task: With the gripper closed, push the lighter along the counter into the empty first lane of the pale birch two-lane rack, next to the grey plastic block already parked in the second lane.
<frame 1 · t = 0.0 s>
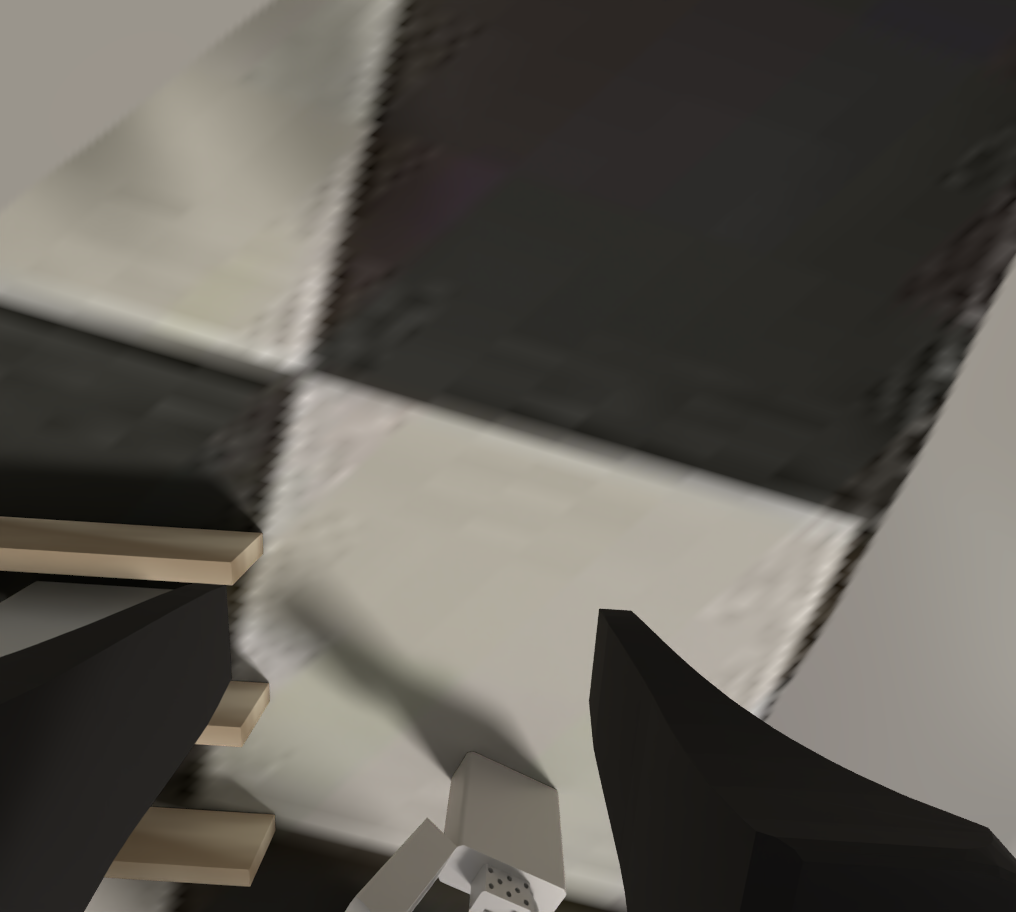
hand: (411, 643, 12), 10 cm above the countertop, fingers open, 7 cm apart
lighter: (472, 767, 25), on the countertop
grey block: (134, 610, 23), resting in rack
rack: (140, 684, 24), on the countertop
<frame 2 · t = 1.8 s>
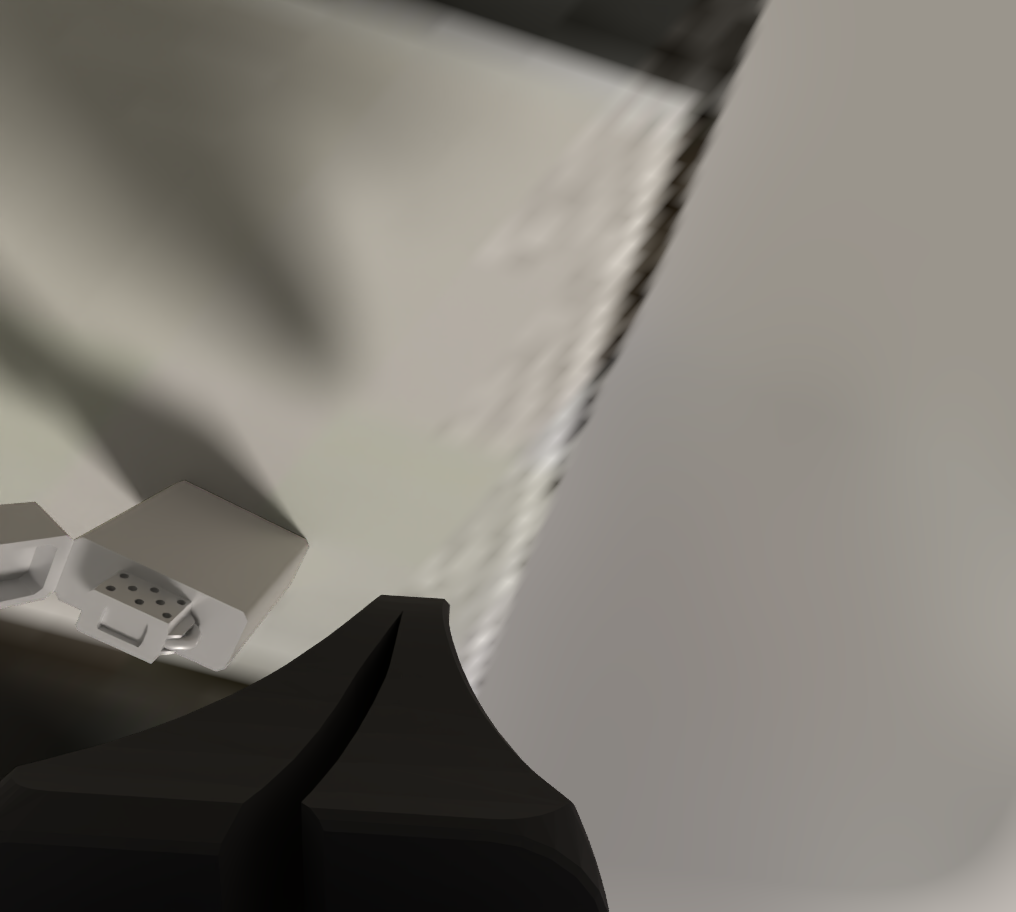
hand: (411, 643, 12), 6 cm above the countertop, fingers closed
lighter: (191, 509, 18), on the countertop
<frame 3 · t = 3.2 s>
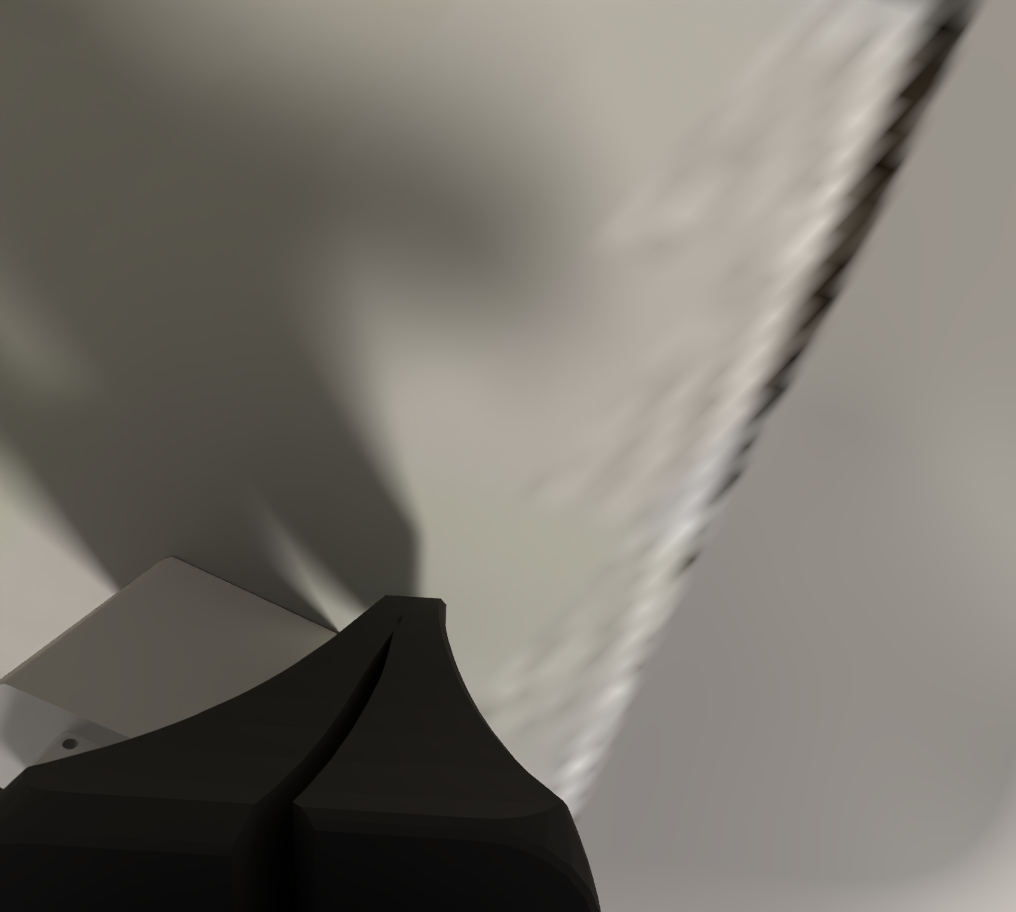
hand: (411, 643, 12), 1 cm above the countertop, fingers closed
lighter: (181, 594, 13), on the countertop, touching gripper
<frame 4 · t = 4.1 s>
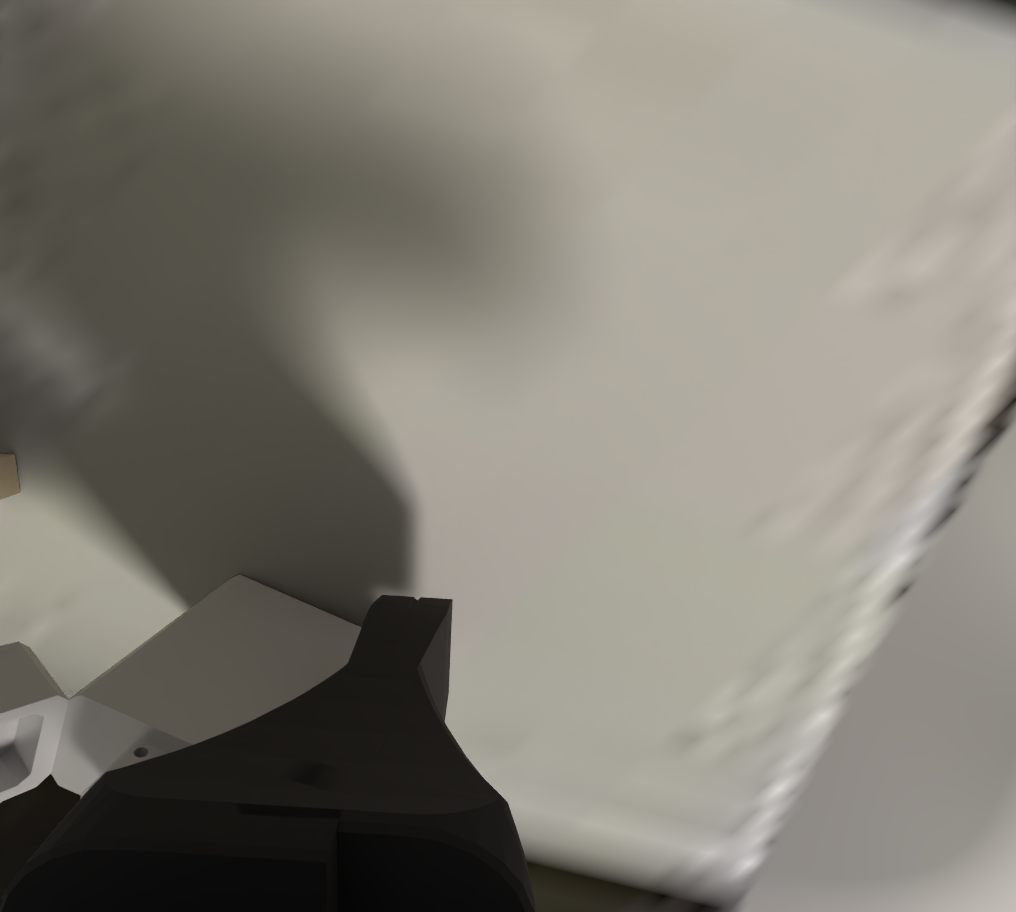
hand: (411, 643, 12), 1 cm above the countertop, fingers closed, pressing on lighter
lighter: (251, 611, 14), on the countertop, touching gripper
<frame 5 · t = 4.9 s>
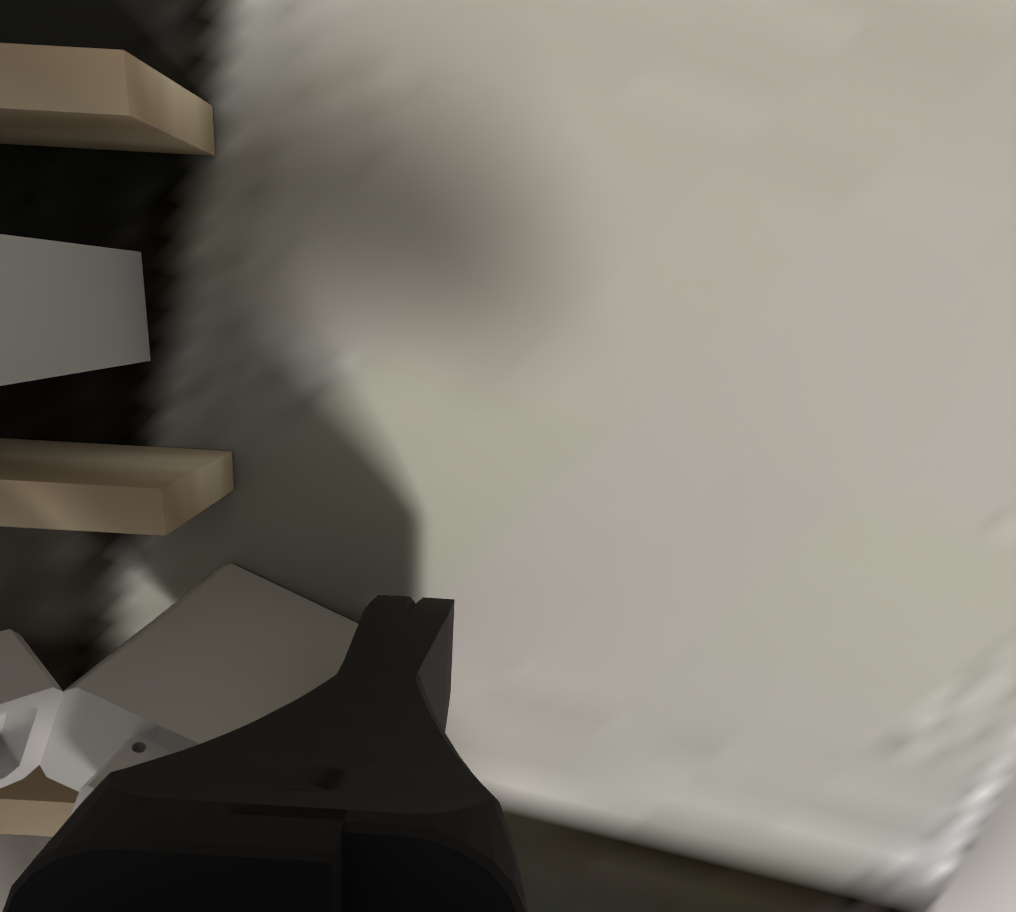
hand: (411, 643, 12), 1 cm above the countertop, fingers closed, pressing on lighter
lighter: (240, 600, 13), on the countertop, touching gripper
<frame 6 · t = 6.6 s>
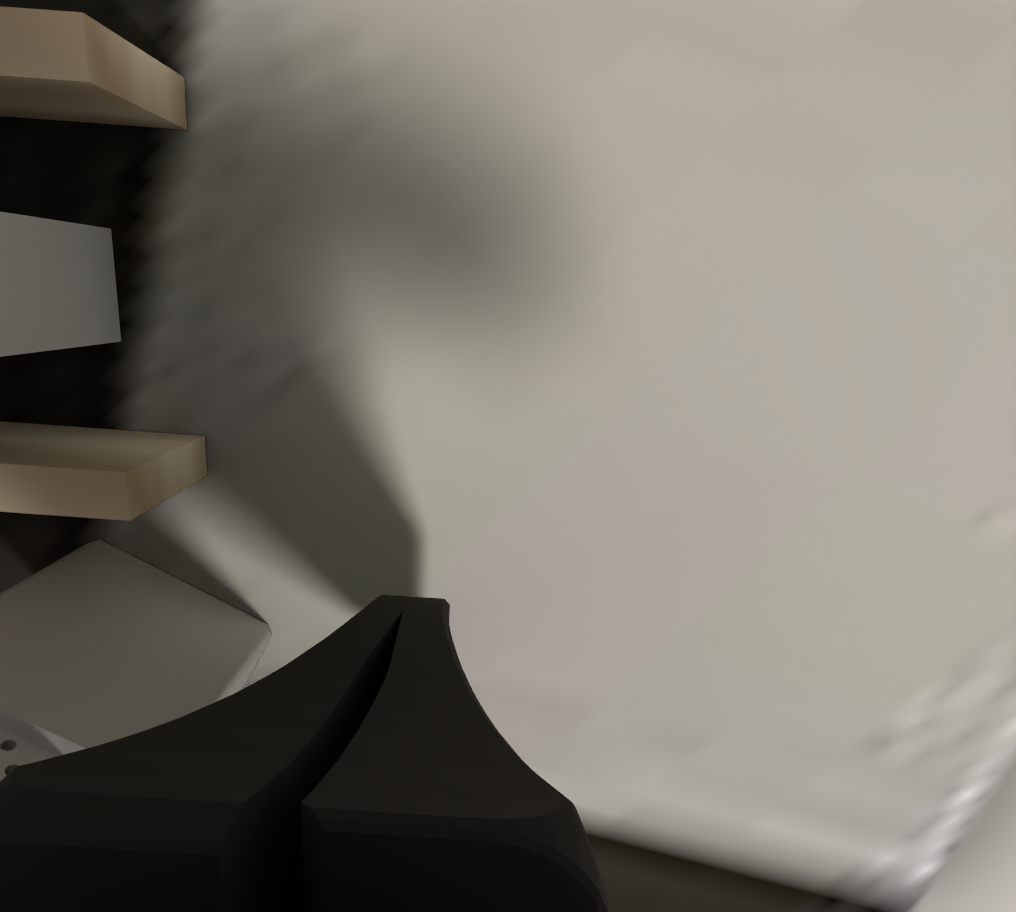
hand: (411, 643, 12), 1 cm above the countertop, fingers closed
lighter: (109, 578, 13), on the countertop
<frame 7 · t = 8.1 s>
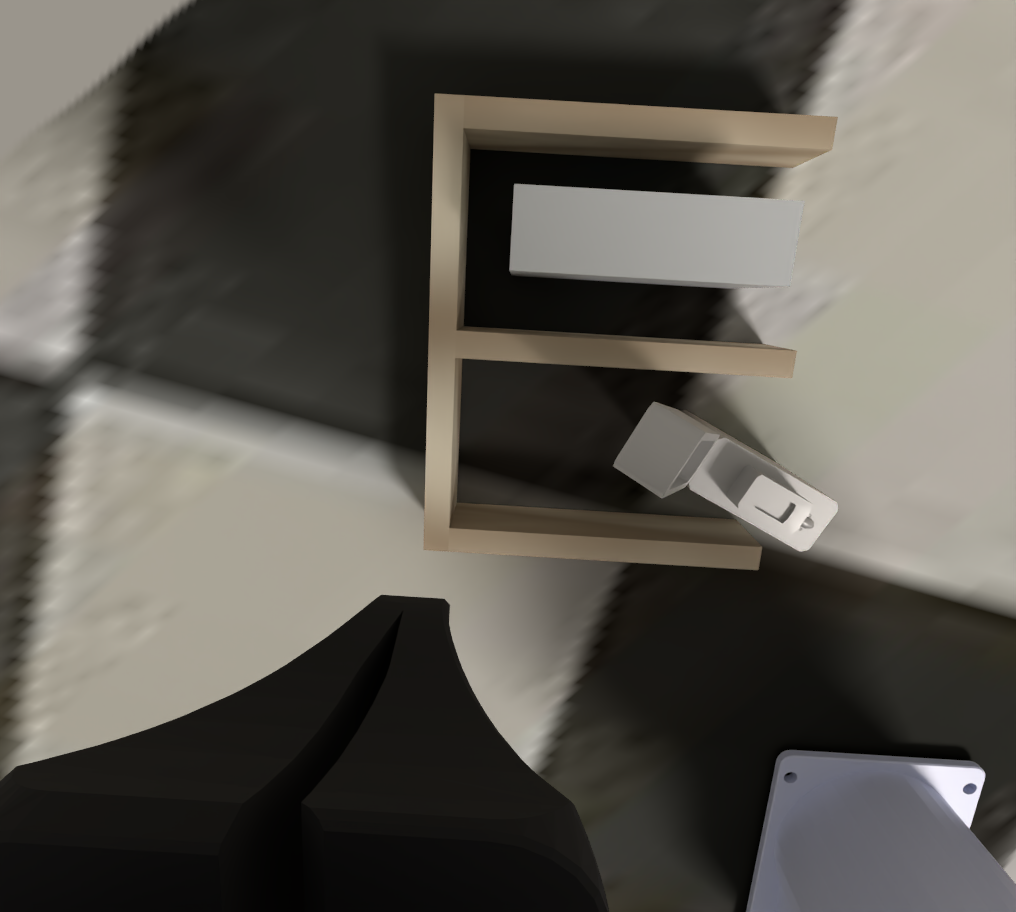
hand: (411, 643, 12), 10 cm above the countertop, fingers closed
lighter: (679, 435, 22), on the countertop
grey block: (621, 250, 20), resting in rack
rack: (612, 347, 21), on the countertop
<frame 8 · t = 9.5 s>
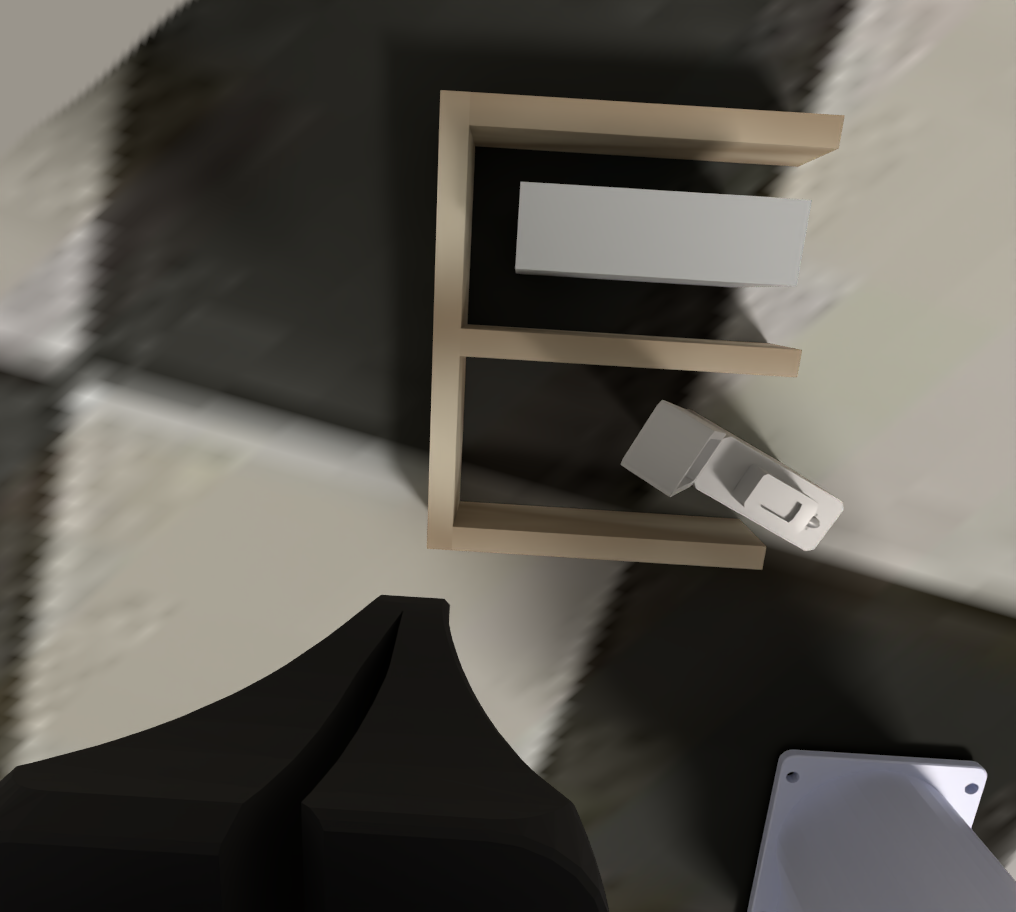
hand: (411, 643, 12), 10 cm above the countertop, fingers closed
lighter: (683, 434, 22), on the countertop
grey block: (626, 248, 20), resting in rack
rack: (616, 345, 21), on the countertop
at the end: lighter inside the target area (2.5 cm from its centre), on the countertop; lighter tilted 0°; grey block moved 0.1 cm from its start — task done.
